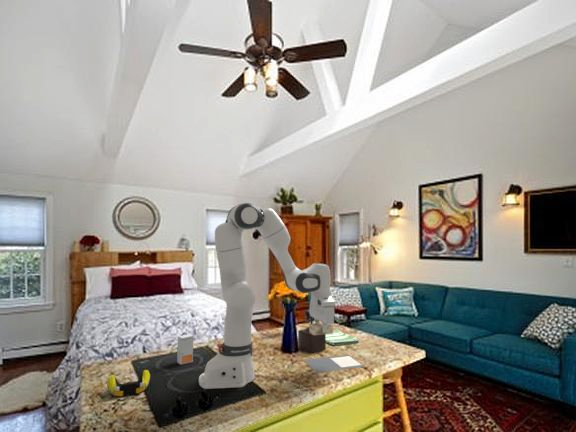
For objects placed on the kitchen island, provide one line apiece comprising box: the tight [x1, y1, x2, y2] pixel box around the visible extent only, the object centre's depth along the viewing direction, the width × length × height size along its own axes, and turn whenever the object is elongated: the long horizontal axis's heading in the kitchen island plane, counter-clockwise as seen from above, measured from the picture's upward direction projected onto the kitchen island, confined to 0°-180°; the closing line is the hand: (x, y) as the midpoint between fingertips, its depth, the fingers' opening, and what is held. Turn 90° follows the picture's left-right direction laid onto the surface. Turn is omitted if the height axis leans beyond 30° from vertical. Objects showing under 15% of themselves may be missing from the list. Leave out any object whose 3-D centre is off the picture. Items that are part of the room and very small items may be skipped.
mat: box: [303, 354, 366, 374], centre depth 159 cm, size 23×16×1 cm
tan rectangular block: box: [308, 322, 334, 335], centre depth 158 cm, size 9×6×4 cm, turn 108°
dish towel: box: [326, 328, 360, 346], centre depth 198 cm, size 18×23×3 cm
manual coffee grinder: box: [297, 309, 327, 354], centre depth 182 cm, size 16×11×18 cm
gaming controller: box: [106, 369, 151, 397], centre depth 132 cm, size 15×6×10 cm
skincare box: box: [176, 333, 194, 366], centre depth 162 cm, size 6×4×12 cm
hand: (320, 330), depth 158 cm, fingers closed on tan rectangular block, 5 cm apart
